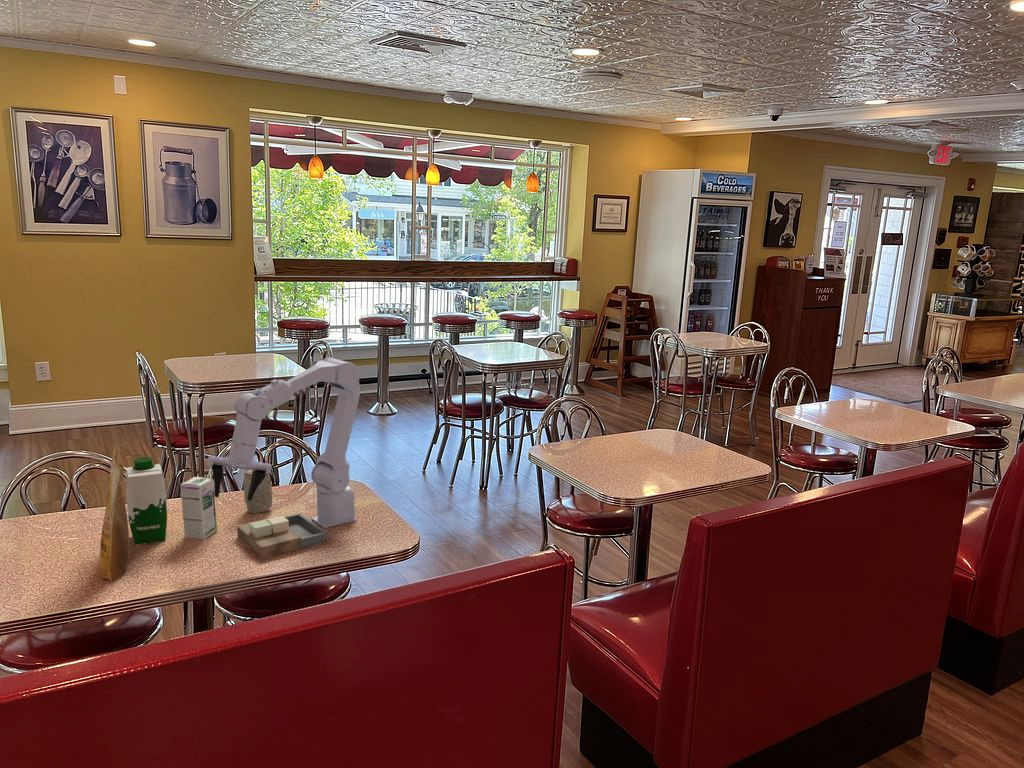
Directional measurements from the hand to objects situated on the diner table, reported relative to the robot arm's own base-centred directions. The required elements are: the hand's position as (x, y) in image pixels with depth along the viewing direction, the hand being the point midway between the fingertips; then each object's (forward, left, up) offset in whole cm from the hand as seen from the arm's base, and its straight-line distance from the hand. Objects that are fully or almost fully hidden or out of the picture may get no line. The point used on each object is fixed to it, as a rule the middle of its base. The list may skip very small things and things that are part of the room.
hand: (232, 497), depth 187 cm
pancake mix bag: (+25, -6, -14) cm, 29 cm away
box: (-17, +1, -13) cm, 21 cm away
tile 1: (-6, +1, -10) cm, 12 cm away
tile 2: (-11, +1, -10) cm, 15 cm away
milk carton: (+15, -19, -14) cm, 28 cm away
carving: (-14, -21, -14) cm, 29 cm away
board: (-8, +1, -13) cm, 16 cm away
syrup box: (+4, -14, -14) cm, 20 cm away
